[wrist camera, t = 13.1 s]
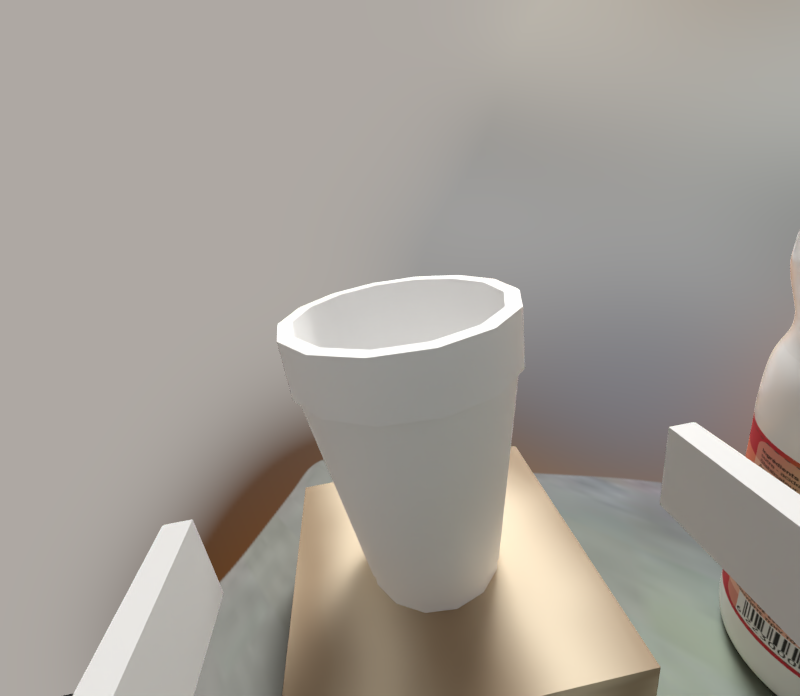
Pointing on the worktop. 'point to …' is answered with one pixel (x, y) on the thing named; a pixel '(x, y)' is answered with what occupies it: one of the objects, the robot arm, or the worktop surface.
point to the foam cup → (414, 423)
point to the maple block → (462, 616)
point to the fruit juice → (795, 467)
